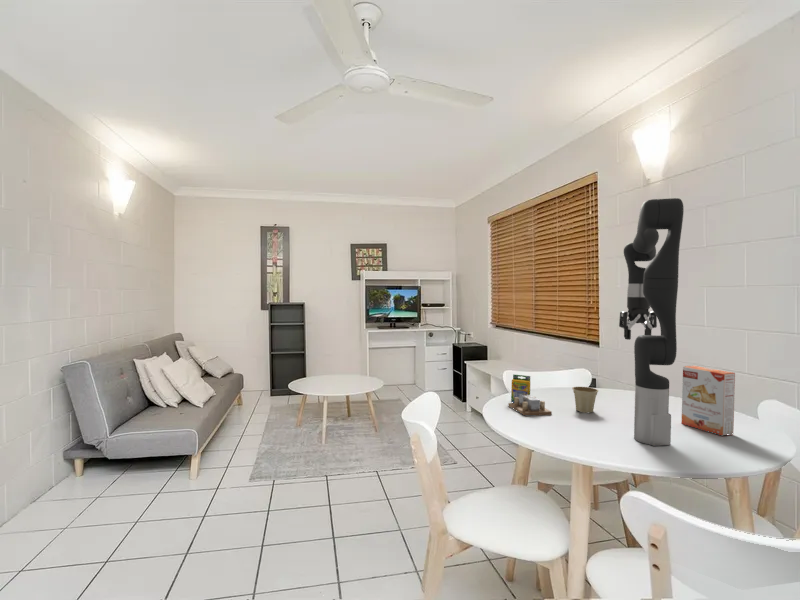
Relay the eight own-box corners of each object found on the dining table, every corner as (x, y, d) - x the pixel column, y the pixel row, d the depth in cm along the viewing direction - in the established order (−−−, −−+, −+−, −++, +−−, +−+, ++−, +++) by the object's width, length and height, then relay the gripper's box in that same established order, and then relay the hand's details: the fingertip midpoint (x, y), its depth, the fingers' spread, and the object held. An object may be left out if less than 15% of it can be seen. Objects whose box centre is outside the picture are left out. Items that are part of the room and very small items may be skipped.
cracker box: (680, 424, 152) (681, 365, 152) (691, 422, 154) (693, 365, 154) (722, 437, 139) (723, 373, 139) (734, 435, 141) (736, 372, 141)
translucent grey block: (539, 410, 163) (539, 400, 163) (531, 410, 163) (531, 400, 163) (527, 403, 173) (527, 393, 173) (519, 403, 173) (519, 394, 172)
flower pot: (592, 408, 172) (593, 386, 172) (601, 414, 163) (602, 392, 163) (568, 407, 173) (569, 386, 173) (576, 413, 164) (576, 391, 163)
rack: (551, 414, 162) (551, 403, 162) (524, 416, 160) (524, 404, 160) (533, 405, 176) (533, 394, 176) (508, 406, 174) (508, 395, 174)
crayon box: (510, 403, 179) (511, 375, 178) (512, 401, 181) (512, 374, 181) (528, 405, 175) (529, 377, 175) (530, 403, 178) (530, 375, 178)
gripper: (629, 296, 154) (628, 340, 155) (663, 296, 157) (661, 340, 158) (615, 295, 162) (614, 338, 162) (647, 296, 165) (646, 338, 165)
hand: (637, 339), depth 160 cm, fingers open, 8 cm apart
